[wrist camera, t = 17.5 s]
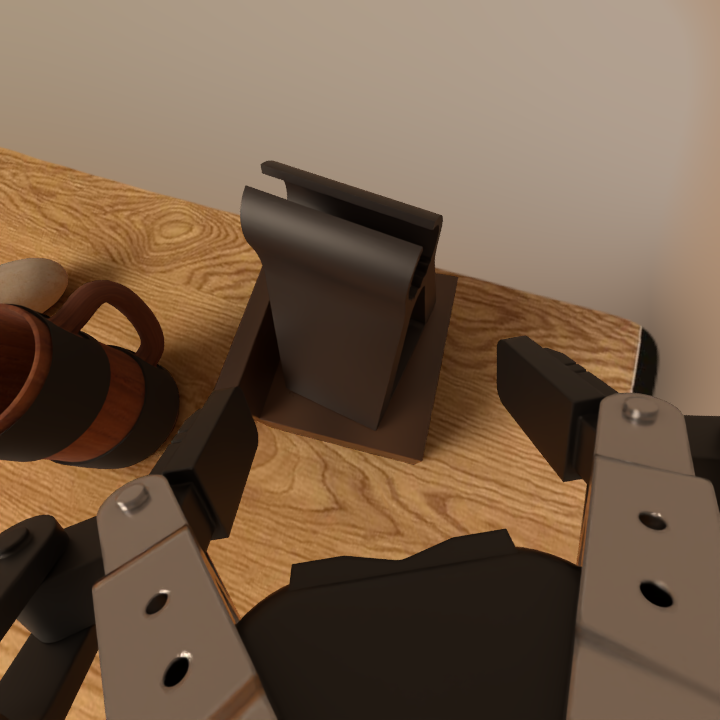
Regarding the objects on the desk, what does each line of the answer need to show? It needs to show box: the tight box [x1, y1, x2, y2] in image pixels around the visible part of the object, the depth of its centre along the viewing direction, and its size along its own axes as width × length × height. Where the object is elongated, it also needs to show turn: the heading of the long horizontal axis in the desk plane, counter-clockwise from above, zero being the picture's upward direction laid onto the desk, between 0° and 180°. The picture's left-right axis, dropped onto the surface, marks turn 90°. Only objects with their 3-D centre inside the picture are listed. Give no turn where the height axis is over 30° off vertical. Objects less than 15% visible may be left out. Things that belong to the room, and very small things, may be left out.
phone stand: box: [240, 161, 443, 431], centre depth 16 cm, size 9×6×12 cm, turn 154°
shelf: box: [214, 266, 458, 465], centre depth 23 cm, size 11×12×10 cm
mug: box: [0, 280, 179, 469], centre depth 23 cm, size 9×12×12 cm
